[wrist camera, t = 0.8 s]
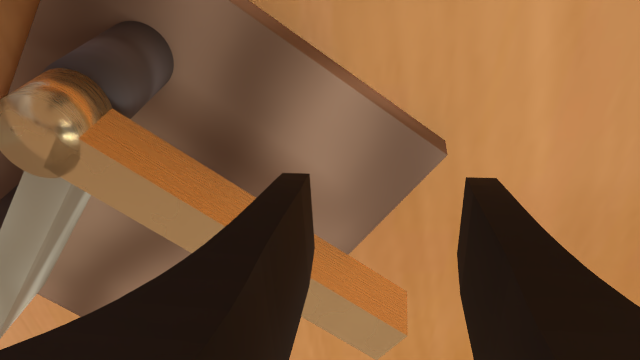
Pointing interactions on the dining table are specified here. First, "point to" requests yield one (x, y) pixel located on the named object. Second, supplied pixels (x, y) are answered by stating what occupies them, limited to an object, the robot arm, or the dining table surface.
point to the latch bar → (178, 196)
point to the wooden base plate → (198, 138)
